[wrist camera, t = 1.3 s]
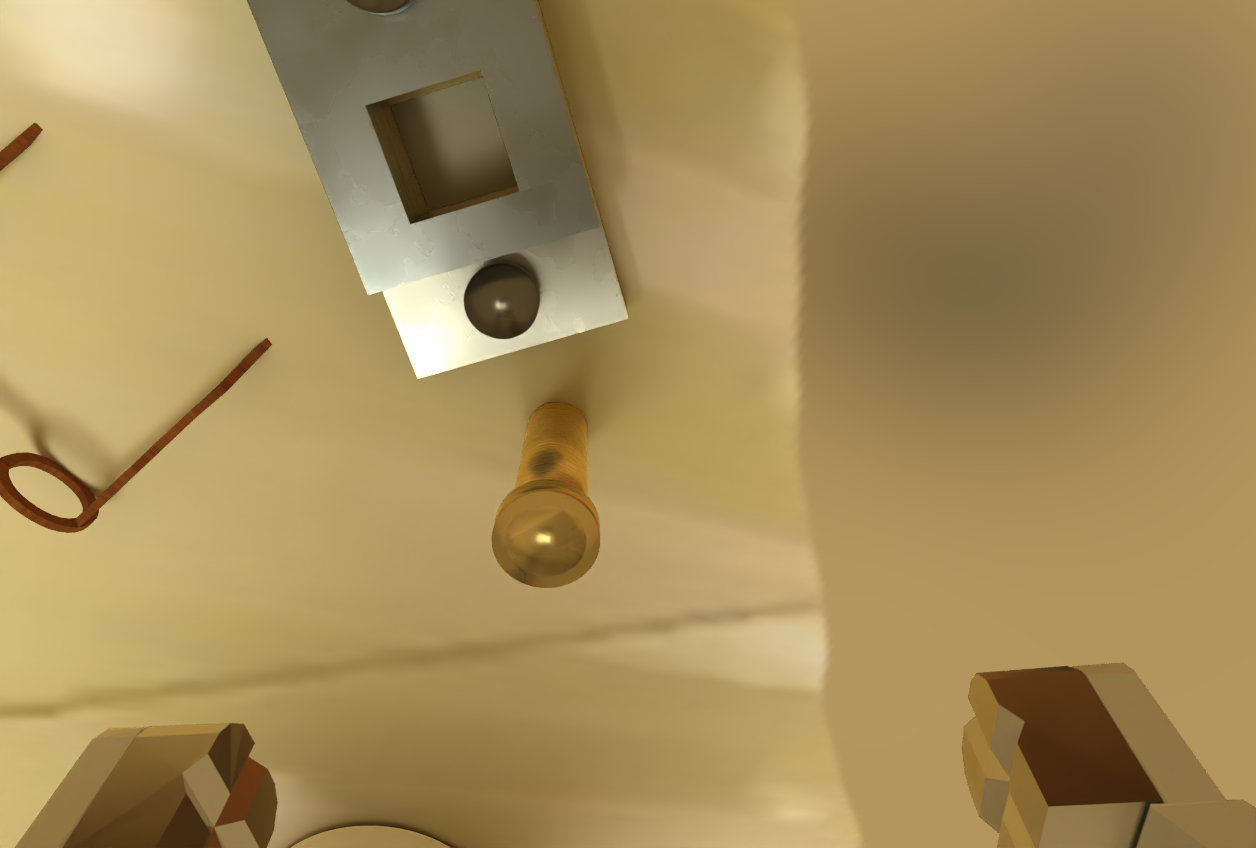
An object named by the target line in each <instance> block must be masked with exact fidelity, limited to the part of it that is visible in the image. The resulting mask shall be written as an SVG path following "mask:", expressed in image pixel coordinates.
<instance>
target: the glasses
mask: <svg viewBox="0 0 1256 848" xmlns="http://www.w3.org/2000/svg"><path fill="white" fill-rule="evenodd" d="M41 131H42V129H41V128H40V127H39V126H37V125H36V124H35V123H34V124H33V125H31V126H30V127H29V128H28V129H27V130H26V131H24V132H23V133H22V134H21V135H20V136H18V137H17V138H16V139H15V140H14V141H13V142H11V143H10V144H9V145H8V146H7V147H5V148H4V149H3V150H2V151H1V152H0V171H1V170H2V169H3V168H4V167H5V166H7V165H8V164H9V163H10V162H11V161H12V160H14V159H15V158H16V157H17V156H18V155H19V154H21V153H22V152H23V151H24V150H25V149H26V148H28V147H29V146H30V145H31V144H32V142H33V141H34V140H35V139H36V137H37V136H38V135H39V134H40V133H41ZM271 345H272V344H271V342H270V341H269V340H268V338H266V339H265V340H264V341H263V342H261V343H260V344H259V345H258V346H257V347H255V348H254V349H253V350H252V351H251V352H250V353H249V354H248V355H247V356H246V357H245V358H244V359H243V360H242V361H241V363H240V364H239V365H238V366H237V367H236V368H235V369H234V370H233V371H232V372H231V373H230V374H229V375H228V376H227V377H226V378H225V379H224V380H223V381H222V382H221V383H220V384H219V385H218V386H217V387H216V388H215V389H214V390H213V391H212V392H211V393H209V394H208V395H207V396H206V397H205V398H204V399H203V400H202V401H201V402H200V403H199V404H197V405H196V406H195V407H194V408H193V409H192V410H191V411H190V412H189V413H188V414H187V415H186V416H185V417H183V418H182V419H181V420H180V421H179V422H178V423H177V424H176V425H175V426H174V427H172V428H171V429H170V430H169V431H168V432H167V433H166V434H165V435H164V436H163V437H162V438H161V439H160V440H159V441H157V442H156V443H155V444H154V445H153V446H152V447H151V448H150V449H149V450H148V451H147V452H146V453H145V454H144V455H143V456H142V457H141V458H140V459H138V460H137V461H136V462H135V463H134V464H133V465H132V466H131V467H130V468H129V469H128V470H127V471H126V472H125V473H124V474H123V475H122V476H120V477H119V478H118V479H117V480H116V481H115V482H114V483H113V484H112V485H111V486H110V487H109V488H108V489H107V490H106V491H105V492H104V493H103V494H101V495H100V496H99V497H98V498H97V499H96V498H95V496H94V495H93V493H92V492H91V491H90V489H89V488H87V487H86V486H85V485H83V484H82V483H81V482H80V481H78V480H77V479H76V478H74V477H73V476H72V475H71V474H69V473H68V472H67V471H65V470H64V469H63V468H62V467H60V466H59V465H58V464H56V463H55V462H54V461H52V460H50V459H48V458H46V457H43V456H40V455H37V454H32V453H15V454H10V455H7V456H4V457H1V458H0V496H1V497H2V498H3V499H4V500H5V501H6V502H7V503H8V504H9V505H10V506H12V507H13V508H14V509H15V510H16V511H18V512H19V513H21V514H22V515H24V516H25V517H26V518H28V519H30V520H32V521H33V522H35V523H37V524H39V525H41V526H44V527H46V528H48V529H51V530H55V531H58V532H66V533H71V532H78V531H82V530H84V529H85V528H87V527H88V526H89V525H90V524H91V523H93V522H94V520H95V519H96V518H97V516H98V513H99V509H100V508H101V507H102V506H103V505H104V504H105V503H106V502H107V501H108V500H109V499H110V498H111V497H112V496H113V495H114V494H115V493H117V492H118V491H119V490H120V489H121V488H122V487H123V486H124V485H125V484H126V483H127V482H128V481H129V480H130V479H131V478H132V477H133V476H135V475H136V474H137V473H138V472H139V471H140V470H141V469H142V468H143V467H144V466H145V465H146V464H147V463H148V462H149V461H150V460H151V459H152V458H154V457H155V456H156V455H157V454H158V453H159V452H160V451H161V450H162V449H163V448H164V447H165V446H166V445H167V444H168V443H169V442H170V441H172V440H173V439H174V438H175V437H176V436H177V435H178V434H179V433H180V432H181V431H182V430H183V429H184V428H185V427H186V426H187V425H189V424H190V423H191V422H192V421H193V420H194V419H195V418H196V417H197V416H198V415H199V414H201V413H202V412H203V411H204V410H205V409H206V408H208V407H209V406H210V405H211V404H212V403H213V402H215V401H216V400H217V399H218V398H219V397H221V396H222V395H223V394H224V393H225V392H226V391H227V390H228V389H229V388H230V387H231V386H232V385H233V384H234V383H235V382H236V381H237V380H238V379H239V378H240V377H241V376H242V375H243V374H244V373H245V372H246V371H247V370H248V369H249V368H250V367H251V366H252V365H253V364H254V362H255V361H256V360H257V359H258V358H259V357H260V356H261V355H262V354H263V353H264V352H265V351H266V350H267V349H268V348H269V347H270V346H271ZM18 466H31V467H35V468H38V469H41V470H43V471H45V472H48V473H50V474H51V475H53V476H55V477H56V478H58V479H59V480H61V481H62V482H63V483H65V484H66V485H67V486H68V487H69V488H70V489H71V490H72V491H73V492H74V493H75V494H76V495H77V497H78V498H79V499H80V501H81V503H82V507H83V512H82V513H81V514H80V515H79V516H78V517H77V518H72V519H67V518H60V517H57V516H54V515H51V514H49V513H47V512H45V511H43V510H41V509H40V508H38V507H36V506H35V505H33V504H32V503H31V502H29V501H28V500H27V499H26V498H24V497H23V496H22V495H21V494H20V493H19V492H18V491H17V489H16V488H15V487H14V486H13V484H12V482H11V480H10V477H9V469H11V468H13V467H18Z"/></svg>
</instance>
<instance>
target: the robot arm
mask: <svg viewBox="0 0 1256 848" xmlns="http://www.w3.org/2000/svg"><path fill="white" fill-rule="evenodd" d="M968 699H969V701H970V704H971V706H972V708H973V711H974V713H975V715H976V716H975V717H974V718H973V719H971V720H970V721H969V722H968V723H967V724H966V725H965V726H964V731H963V741H962V753H963V762H964V771H965V776H966V779H967V783H968V787H969V791H970V794H971V797H972V799H973V802H974V805H975V807H976V810H977V813H978V815H979V817H980V818H981V819H983V820H984V821H985V822H986V823H987V824H988V825H990V826H991V827H992V828H993V829H995V830H996V831H997V832H998V833H999V840H998V845H997V848H1256V808H1255V807H1254V806H1252V805H1251V804H1249V803H1248V802H1246V801H1244V800H1226V799H1225V797H1224V796H1223V794H1222V793H1221V792H1220V790H1219V789H1218V787H1217V786H1216V785H1215V783H1214V782H1213V780H1212V779H1211V777H1210V776H1209V775H1208V773H1207V772H1206V770H1205V769H1204V768H1203V766H1202V765H1201V763H1200V762H1199V761H1198V759H1197V758H1196V756H1195V755H1194V754H1193V752H1192V751H1191V749H1190V748H1189V747H1188V745H1187V744H1186V742H1185V741H1184V740H1183V738H1182V737H1181V736H1180V734H1179V733H1178V731H1177V730H1176V728H1175V727H1174V726H1173V724H1172V723H1171V721H1170V720H1169V719H1168V717H1167V716H1166V714H1165V713H1164V712H1163V710H1162V709H1161V708H1160V706H1159V705H1158V703H1157V702H1156V700H1155V699H1154V698H1153V696H1152V695H1151V694H1150V692H1149V691H1148V689H1147V688H1146V686H1145V685H1144V684H1143V682H1142V681H1141V679H1140V678H1139V677H1138V675H1137V674H1136V672H1135V671H1134V670H1133V669H1132V668H1130V667H1129V666H1127V665H1126V664H1124V663H1111V664H1097V665H1082V666H1073V667H1068V666H1060V667H1048V668H1035V669H1022V670H1009V671H996V672H983V673H976V674H975V676H974V677H973V678H972V680H971V682H970V688H969V695H968ZM254 744H255V743H254V741H253V739H252V737H251V736H250V734H249V732H248V730H247V729H246V727H245V725H244V724H237V723H222V724H195V725H169V726H149V727H132V728H111V729H107V730H106V731H104V732H103V733H101V734H100V735H98V736H97V737H95V738H94V739H92V741H91V742H90V743H89V745H88V746H87V747H86V749H85V750H84V752H83V753H82V754H81V756H80V757H79V759H78V760H77V761H76V763H75V764H74V766H73V767H72V768H71V770H70V771H69V773H68V774H67V775H66V777H65V778H64V780H63V781H62V782H61V784H60V785H59V787H58V788H57V789H56V791H55V792H54V794H53V795H52V796H51V798H50V799H49V801H48V802H47V803H46V805H45V806H44V808H43V809H42V810H41V812H40V813H39V815H38V816H37V817H36V819H35V820H34V821H33V823H32V824H31V826H30V827H29V828H28V830H27V831H26V833H25V834H24V835H23V837H22V838H21V840H20V841H19V842H18V844H17V845H16V847H15V848H267V846H268V843H269V841H270V838H271V836H272V833H273V831H274V824H275V817H276V810H277V803H278V802H277V796H276V789H275V783H274V781H273V779H272V777H271V775H270V773H269V771H268V769H267V768H265V767H264V766H262V765H260V764H259V763H257V762H256V761H254V760H253V759H251V758H250V757H248V756H249V754H250V752H251V750H252V748H253V746H254ZM291 848H451V847H449V846H447V845H445V844H443V843H442V842H440V841H437V840H435V839H433V838H431V837H428V836H425V835H422V834H420V833H416V832H413V831H409V830H405V829H400V828H394V827H386V826H352V827H344V828H338V829H333V830H329V831H326V832H322V833H319V834H316V835H314V836H311V837H309V838H307V839H305V840H303V841H301V842H299V843H297V844H295V845H294V846H292V847H291Z"/></svg>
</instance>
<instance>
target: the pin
mask: <svg viewBox="0 0 1256 848" xmlns="http://www.w3.org/2000/svg"><path fill="white" fill-rule="evenodd" d="M587 436H588V429H587V423H586V420H585V418H584V416H583V415H582V414H581V412H580V411H579V410H578V409H576V408H575V407H573V406H571V405H569V404H566V403H562V402H552V403H548V404H545V405H543V406H541V407H539V408H538V409H537V410H536V411H535V412H534V413H533V414H532V415H531V417H530V419H529V422H528V426H527V431H526V436H525V441H524V446H523V451H522V456H521V461H520V466H519V471H518V477H517V482H516V487H515V489H514V490H513V491H512V492H511V493H509V494H508V495H507V497H506V498H505V499H504V500H503V502H502V503H501V505H500V507H499V509H498V512H497V515H496V520H495V524H494V528H493V534H492V547H493V551H494V554H495V557H496V559H497V561H498V563H499V564H500V566H501V567H502V568H503V569H504V570H505V572H507V573H508V574H509V575H510V576H511V577H513V578H514V579H516V580H518V581H520V582H522V583H524V584H527V585H530V586H534V587H540V588H552V587H559V586H563V585H566V584H569V583H571V582H573V581H575V580H577V579H579V578H580V577H582V576H583V575H584V574H585V573H586V572H587V571H588V570H589V569H590V568H591V566H592V565H593V564H594V562H595V560H596V558H597V555H598V552H599V547H600V524H599V517H598V513H597V510H596V508H595V506H594V504H593V503H592V501H591V500H590V499H589V497H588V496H587Z"/></svg>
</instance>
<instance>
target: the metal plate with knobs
mask: <svg viewBox="0 0 1256 848" xmlns="http://www.w3.org/2000/svg"><path fill="white" fill-rule="evenodd" d="M247 2H248V4H249V6H250V9H251V11H252V14H253V16H254V19H255V21H256V23H257V26H258V28H259V31H260V33H261V36H262V38H263V41H264V43H265V45H266V48H267V50H268V53H269V55H270V58H271V60H272V62H273V65H274V67H275V70H276V72H277V75H278V77H279V79H280V82H281V84H282V87H283V89H284V92H285V94H286V97H287V99H288V101H289V104H290V106H291V109H292V111H293V114H294V116H295V118H296V121H297V123H298V126H299V128H300V131H301V133H302V135H303V138H304V140H305V143H306V145H307V148H308V150H309V153H310V155H311V157H312V160H313V162H314V165H315V167H316V170H317V172H318V174H319V177H320V179H321V182H322V184H323V187H324V189H325V192H326V194H327V196H328V199H329V201H330V204H331V206H332V209H333V211H334V213H335V216H336V218H337V221H338V223H339V226H340V228H341V230H342V233H343V235H344V238H345V240H346V243H347V245H348V248H349V250H350V252H351V255H352V257H353V260H354V262H355V265H356V267H357V269H358V272H359V274H360V277H361V279H362V282H363V284H364V286H365V289H366V291H367V294H368V295H370V294H374V293H377V292H381V291H382V292H383V294H384V297H385V299H386V302H387V304H388V306H389V309H390V311H391V314H392V316H393V319H394V321H395V324H396V326H397V329H398V331H399V334H400V336H401V339H402V341H403V344H404V346H405V349H406V351H407V354H408V356H409V359H410V361H411V364H412V366H413V369H414V371H415V373H416V376H417V378H418V379H420V378H423V377H427V376H430V375H434V374H437V373H441V372H444V371H448V370H451V369H455V368H458V367H462V366H465V365H469V364H472V363H475V362H479V361H482V360H486V359H489V358H493V357H496V356H500V355H503V354H507V353H510V352H514V351H517V350H521V349H524V348H528V347H531V346H535V345H538V344H542V343H545V342H549V341H552V340H556V339H559V338H563V337H566V336H570V335H573V334H577V333H580V332H584V331H587V330H591V329H594V328H598V327H601V326H605V325H608V324H612V323H615V322H619V321H622V320H626V319H628V313H627V308H626V304H625V301H624V297H623V294H622V290H621V287H620V283H619V280H618V276H617V273H616V269H615V266H614V262H613V259H612V256H611V252H610V249H609V245H608V242H607V238H606V235H605V231H604V228H603V224H602V221H601V217H600V214H599V210H598V207H597V203H596V200H595V197H594V193H593V190H592V186H591V183H590V179H589V176H588V172H587V169H586V165H585V162H584V158H583V155H582V151H581V148H580V144H579V141H578V138H577V134H576V131H575V127H574V124H573V120H572V117H571V113H570V110H569V106H568V103H567V99H566V96H565V92H564V89H563V85H562V82H561V79H560V75H559V72H558V68H557V65H556V61H555V58H554V54H553V51H552V47H551V44H550V40H549V37H548V33H547V30H546V27H545V23H544V20H543V16H542V13H541V9H540V6H539V2H538V0H247ZM480 77H483V79H484V83H485V86H486V89H487V92H488V95H489V98H490V101H491V104H492V107H493V111H494V114H495V117H496V120H497V123H498V126H499V129H500V132H501V135H502V139H503V142H504V145H505V148H506V151H507V154H508V157H509V160H510V163H511V166H512V170H513V173H514V176H515V179H516V182H517V186H513V187H510V188H507V189H503V190H500V191H497V192H493V193H490V194H487V195H483V196H480V197H477V198H473V199H470V200H467V201H463V202H460V203H457V204H453V205H450V206H447V207H443V208H440V209H437V210H433V211H430V212H429V211H428V208H427V206H426V203H425V200H424V197H423V195H422V192H421V189H420V187H419V184H418V181H417V178H416V176H415V173H414V170H413V168H412V165H411V162H410V159H409V157H408V154H407V151H406V148H405V146H404V143H403V140H402V138H401V135H400V132H399V129H398V127H397V124H396V121H395V118H394V116H393V113H392V110H391V108H390V105H392V104H396V103H399V102H402V101H405V100H408V99H412V98H415V97H418V96H421V95H425V94H428V93H431V92H434V91H438V90H441V89H444V88H447V87H450V86H454V85H457V84H460V83H463V82H467V81H470V80H473V79H476V78H480Z"/></svg>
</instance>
